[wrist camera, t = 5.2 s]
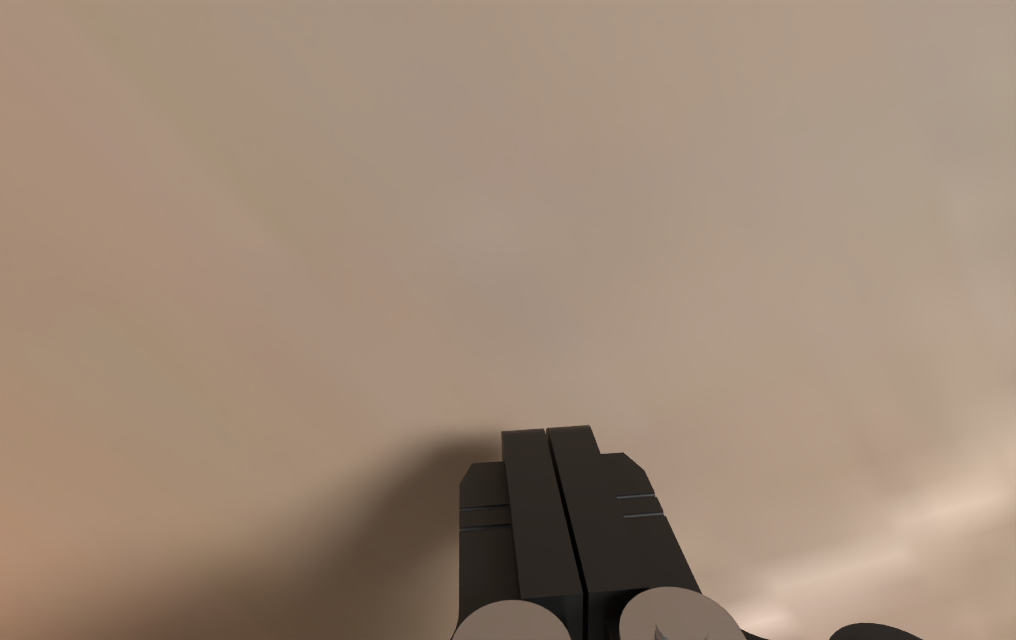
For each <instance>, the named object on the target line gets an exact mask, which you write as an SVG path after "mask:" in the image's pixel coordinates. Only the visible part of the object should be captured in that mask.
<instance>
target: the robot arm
mask: <svg viewBox="0 0 1016 640" xmlns="http://www.w3.org/2000/svg"><path fill="white" fill-rule="evenodd" d="M501 438H502V460H503V462H489V463H475V464H472V465H471V467H470V468H469V470H468V472H467V473H466V475H465V477H464V478H463V480H462V481H461V483H460V533H459V618H458V623H457V626H456V629H455V631H454V634H453V636H452V638H451V639H450V640H768V639H764V638H761V637H758V636H755V635H753V634H750V633H748V632H746V631H744V630H742V629H740V628H739V626H738V625H737V623H736V622H735V620H734V619H733V617H732V616H731V615H730V614H729V613H728V612H727V611H726V610H725V609H724V608H723V607H721V606H720V605H719V604H718V603H716V602H715V601H713V600H712V599H710V598H708V597H706V596H704V595H703V594H702V593H701V591H700V589H699V587H698V585H697V582H696V580H695V578H694V576H693V574H692V572H691V570H690V567H689V565H688V563H687V561H686V559H685V557H684V555H683V552H682V550H681V548H680V546H679V544H678V542H677V539H676V537H675V535H674V533H673V531H672V529H671V527H670V524H669V522H668V520H667V518H666V516H664V514H663V509H662V507H661V505H660V503H659V501H658V499H657V497H655V492H654V490H653V488H652V486H651V484H650V481H649V479H648V477H647V475H646V473H645V471H644V470H643V469H642V468H641V467H640V466H639V465H637V464H636V463H635V462H634V461H633V460H632V459H630V458H629V457H628V456H627V455H626V454H624V453H610V454H600V451H599V448H598V446H597V443H596V440H595V438H594V435H593V432H592V430H591V427H590V426H589V425H584V426H570V427H556V428H547V429H546V434H545V431H544V429H529V430H515V431H502V432H501ZM829 640H922V639H920V638H918V637H916V636H914V635H912V634H910V633H908V632H905V631H902V630H900V629H897V628H894V627H890V626H886V625H881V624H875V623H857V624H851V625H848V626H845V627H842V628H841V629H839V630H838V631H836V632H835V633H834V634H833V635H832V636H831V637H830V639H829Z"/></svg>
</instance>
